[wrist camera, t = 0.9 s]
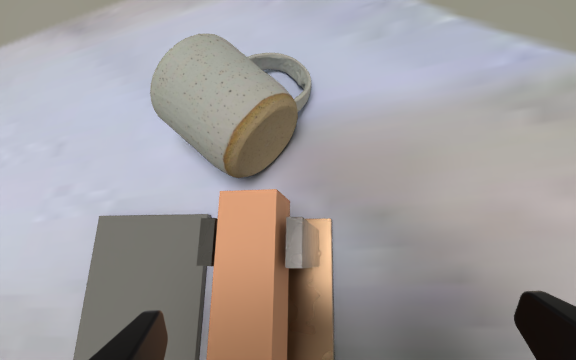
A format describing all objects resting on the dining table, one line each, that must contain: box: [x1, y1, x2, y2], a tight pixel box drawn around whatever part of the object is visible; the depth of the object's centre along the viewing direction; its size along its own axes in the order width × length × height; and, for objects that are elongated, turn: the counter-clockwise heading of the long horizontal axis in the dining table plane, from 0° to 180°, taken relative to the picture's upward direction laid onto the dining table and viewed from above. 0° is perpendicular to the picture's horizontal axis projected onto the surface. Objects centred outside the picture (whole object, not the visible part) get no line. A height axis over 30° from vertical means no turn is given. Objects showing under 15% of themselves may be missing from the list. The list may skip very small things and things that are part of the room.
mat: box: [73, 214, 211, 360], centre depth 22 cm, size 20×10×1 cm, turn 179°
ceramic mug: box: [150, 34, 311, 178], centre depth 22 cm, size 11×8×8 cm
